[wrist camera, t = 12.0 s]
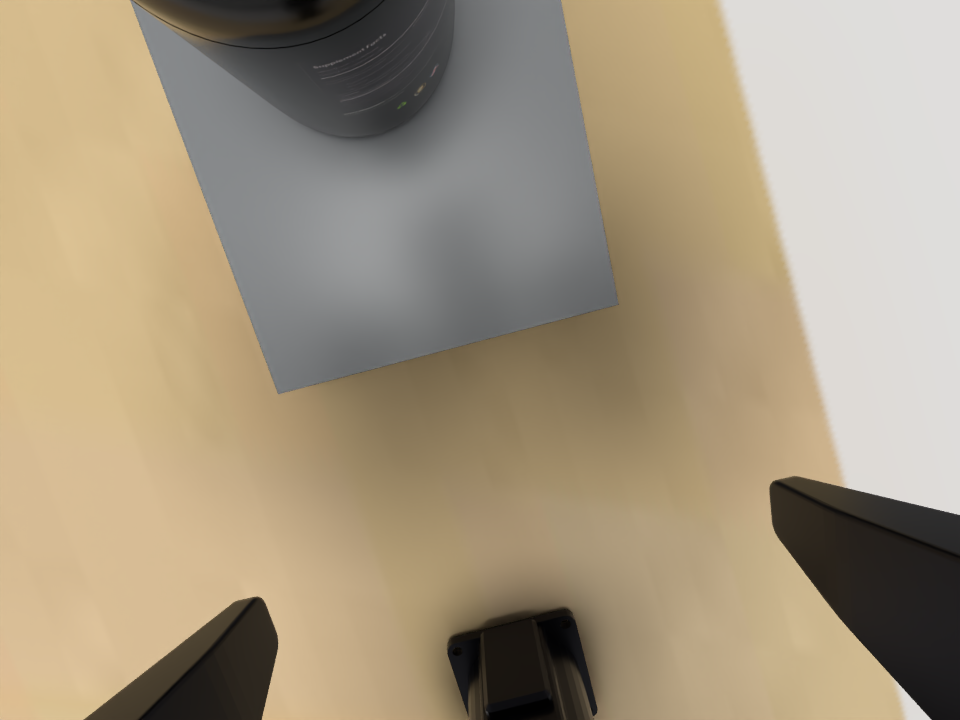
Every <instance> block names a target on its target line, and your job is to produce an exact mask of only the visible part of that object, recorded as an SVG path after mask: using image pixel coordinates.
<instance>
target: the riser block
mask: <svg viewBox="0 0 960 720" xmlns="http://www.w3.org/2000/svg"><path fill="white" fill-rule="evenodd" d="M130 1H131V3H132V6H133V9H134V11H135V14H136V17H137V19H138V22H139V25H140V27H141V30H142V33H143V35H144V38H145V41H146V43H147V46H148V49H149V51H150V54H151V57H152V59H153V62H154V65H155V67H156V70H157V73H158V75H159V78H160V81H161V83H162V86H163V89H164V91H165V94H166V97H167V99H168V102H169V105H170V107H171V110H172V113H173V115H174V118H175V121H176V123H177V126H178V128H179V131H180V134H181V136H182V139H183V142H184V144H185V147H186V150H187V152H188V155H189V158H190V160H191V163H192V166H193V168H194V171H195V174H196V176H197V179H198V182H199V184H200V187H201V190H202V192H203V195H204V198H205V200H206V203H207V206H208V208H209V211H210V214H211V216H212V219H213V222H214V224H215V227H216V230H217V232H218V235H219V238H220V240H221V243H222V246H223V248H224V251H225V254H226V256H227V259H228V261H229V264H230V267H231V269H232V272H233V275H234V277H235V280H236V283H237V285H238V288H239V291H240V293H241V296H242V299H243V301H244V304H245V307H246V309H247V312H248V315H249V317H250V320H251V323H252V325H253V328H254V331H255V333H256V336H257V339H258V341H259V344H260V347H261V349H262V352H263V355H264V357H265V360H266V363H267V365H268V368H269V371H270V373H271V376H272V379H273V381H274V384H275V387H276V389H277V392H278V394H281V393H285V392H288V391H292V390H296V389H300V388H304V387H307V386H311V385H315V384H319V383H323V382H326V381H330V380H334V379H338V378H342V377H345V376H349V375H353V374H357V373H361V372H364V371H368V370H372V369H376V368H380V367H383V366H387V365H391V364H395V363H399V362H402V361H406V360H410V359H414V358H418V357H421V356H425V355H429V354H433V353H437V352H440V351H444V350H448V349H452V348H456V347H459V346H463V345H467V344H471V343H475V342H478V341H482V340H486V339H490V338H494V337H497V336H501V335H505V334H509V333H513V332H516V331H520V330H524V329H528V328H532V327H535V326H539V325H543V324H547V323H551V322H554V321H558V320H562V319H566V318H570V317H573V316H577V315H581V314H585V313H589V312H592V311H596V310H600V309H604V308H608V307H611V306H615V305H619V304H618V299H617V294H616V288H615V283H614V278H613V273H612V267H611V262H610V257H609V251H608V246H607V241H606V236H605V230H604V225H603V220H602V215H601V209H600V204H599V199H598V194H597V188H596V183H595V178H594V173H593V167H592V162H591V157H590V151H589V146H588V141H587V136H586V130H585V125H584V120H583V115H582V109H581V104H580V99H579V94H578V88H577V83H576V78H575V72H574V67H573V62H572V57H571V51H570V46H569V41H568V36H567V30H566V25H565V20H564V15H563V9H562V4H561V0H455V21H454V36H453V42H452V48H451V52H450V56H449V60H448V63H447V66H446V69H445V72H444V74H443V76H442V78H441V81H440V83H439V84H438V86H437V88H436V90H435V91H434V93H433V94H432V95H431V97H430V98H429V100H428V101H427V102H426V103H425V104H424V105H423V107H422V108H421V109H420V110H419V111H417V112H416V113H415V114H414V115H413V116H412V117H410V118H409V119H408V120H406V121H405V122H403V123H402V124H400V125H398V126H396V127H394V128H392V129H390V130H388V131H385V132H382V133H379V134H375V135H371V136H365V137H340V136H333V135H329V134H325V133H322V132H318V131H315V130H313V129H311V128H309V127H306V126H304V125H302V124H300V123H298V122H297V121H295V120H293V119H291V118H290V117H289V116H287V115H286V114H284V113H283V112H281V111H280V110H278V109H277V108H275V107H274V106H272V105H271V104H270V103H268V102H267V101H266V100H264V99H263V98H262V97H260V96H259V95H258V94H256V93H255V92H254V91H252V90H251V89H250V88H248V87H247V86H246V85H244V84H243V83H242V82H240V81H239V80H238V79H236V78H235V77H233V76H232V75H231V74H229V73H228V72H227V71H225V70H224V69H223V68H221V67H220V66H219V65H217V64H216V63H215V62H213V61H212V60H211V59H209V58H208V57H207V56H205V55H204V54H203V53H201V52H200V51H199V50H197V49H196V48H195V47H193V46H192V45H191V44H189V43H188V42H187V41H185V40H184V39H183V38H181V37H180V36H179V35H177V34H176V33H174V32H173V31H172V30H170V29H169V28H168V27H166V26H165V25H164V24H162V23H161V22H160V21H158V20H157V19H156V18H154V17H153V16H152V15H150V14H149V13H148V12H146V11H145V10H144V9H142V8H141V7H140V6H138V5H137V4H136V3H135V2H133V1H132V0H130Z"/></svg>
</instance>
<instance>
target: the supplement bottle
mask: <svg viewBox="0 0 960 720" xmlns="http://www.w3.org/2000/svg"><path fill="white" fill-rule="evenodd" d="M132 1H133V2H135V3H136V4H137V5H138V6H140V7H141V8H142V9H144V10H145V11H146V12H148V13H149V14H150V15H152V16H153V17H154V18H156V19H157V20H158V21H160V22H161V23H162V24H164V25H165V26H166V27H168V28H169V29H170V30H172V31H173V32H174V33H176V34H177V35H179V36H180V37H181V38H183V39H184V40H185V41H187V42H188V43H189V44H191V45H192V46H193V47H195V48H196V49H197V50H199V51H200V52H201V53H203V54H204V55H205V56H207V57H208V58H209V59H211V60H212V61H213V62H215V63H216V64H217V65H219V66H220V67H221V68H223V69H224V70H225V71H227V72H228V73H229V74H231V75H232V76H233V77H235V78H236V79H238V80H239V81H240V82H242V83H243V84H244V85H246V86H247V87H248V88H250V89H251V90H252V91H254V92H255V93H256V94H258V95H259V96H260V97H262V98H263V99H264V100H266V101H267V102H268V103H270V104H271V105H272V106H274V107H275V108H277V109H278V110H280V111H281V112H283V113H284V114H286V115H287V116H289V117H290V118H291V119H293V120H295V121H297V122H298V123H300V124H302V125H304V126H306V127H309V128H311V129H313V130H315V131H318V132H322V133H325V134H329V135H333V136H340V137H365V136H371V135H375V134H379V133H382V132H385V131H388V130H390V129H392V128H394V127H396V126H398V125H400V124H402V123H403V122H405V121H406V120H408V119H409V118H410V117H412V116H413V115H414V114H415V113H416V112H417V111H419V110H420V109H421V108H422V107H423V105H424V104H425V103H426V102H427V101H428V100H429V98H430V97H431V95H432V94H433V93H434V91H435V90H436V88H437V86H438V84H439V83H440V81H441V78H442V76H443V74H444V72H445V69H446V66H447V63H448V60H449V56H450V52H451V48H452V42H453V36H454V21H455V0H132Z"/></svg>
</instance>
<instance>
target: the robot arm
mask: <svg viewBox="0 0 960 720" xmlns="http://www.w3.org/2000/svg"><path fill="white" fill-rule="evenodd" d="M770 503H771V515H772V524H773V528H774V531H775V533H776V535H777V537H778V538H779V540H780V541H781V542H782V543H783V545H784V546H785V547H786V549H787V550H788V551H789V553H790V554H791V555H792V557H793V558H794V559H795V561H796V562H797V563H798V565H799V566H800V567H801V569H802V570H803V571H804V573H805V574H806V575H807V577H808V578H809V579H810V580H811V582H812V583H813V584H814V586H815V587H816V588H817V590H818V591H819V592H820V594H821V595H822V596H823V598H824V599H825V600H826V602H827V603H828V604H829V606H830V607H831V608H832V609H833V611H834V612H835V613H836V614H837V615H838V617H839V618H840V619H841V620H842V621H843V623H844V624H845V625H846V626H847V627H848V628H849V629H850V631H851V632H852V633H853V634H854V635H855V636H856V637H857V638H858V639H859V641H860V642H861V643H862V644H863V645H864V646H865V647H866V648H867V649H868V650H869V652H870V653H871V654H872V655H873V656H874V657H875V658H876V659H877V660H878V661H879V663H880V664H881V665H882V666H883V667H884V668H885V669H886V670H887V671H888V672H889V674H890V675H891V676H892V677H893V678H894V679H895V680H896V681H897V682H898V683H899V685H900V686H901V687H902V688H903V689H904V690H905V691H906V692H907V693H908V694H909V695H910V697H911V698H912V699H913V700H914V701H915V702H916V703H917V704H918V705H919V706H920V708H921V709H922V710H923V711H924V712H925V713H926V714H927V715H928V716H929V717H930V719H932V720H960V515H957V514H953V513H948V512H944V511H940V510H936V509H932V508H927V507H923V506H919V505H915V504H911V503H907V502H902V501H898V500H894V499H890V498H886V497H881V496H877V495H873V494H869V493H865V492H860V491H856V490H852V489H848V488H844V487H840V486H836V485H831V484H827V483H823V482H819V481H815V480H811V479H806V478H802V477H797V476H792V477H788V478H784V479H779V480H775V481H773V482H772V483H771V484H770ZM563 620H568V621H567V622H562V621H563ZM456 647H459V648H460V649H454V648H456ZM277 650H278V636H277V632H276V630H275V627H274V625H273V622H272V619H271V617H270V614H269V612H268V609H267V606H266V604H265V602H264V600H263V599H262V598H260V597H252V598H247V599H243V600H238V601H236V602H234V603H232V604H231V605H230V606H229V607H227V608H226V609H225V610H224V611H222V612H221V613H220V614H218V615H217V616H216V617H215V618H213V619H212V620H211V621H209V622H208V623H207V624H206V625H204V626H203V627H202V628H200V629H199V630H198V631H197V632H195V633H194V634H193V635H192V636H190V637H189V638H188V639H186V640H185V641H184V642H183V643H181V644H180V645H179V646H177V647H176V648H175V649H174V650H172V651H171V652H170V653H168V654H167V655H166V656H165V657H163V658H162V659H161V660H160V661H158V662H157V663H156V664H154V665H153V666H152V667H151V668H149V669H148V670H147V671H145V672H144V673H143V674H142V675H140V676H139V677H138V678H136V679H135V680H134V681H133V682H131V683H130V684H129V685H128V686H126V687H125V688H124V689H122V690H121V691H120V692H119V693H117V694H116V695H115V696H113V697H112V698H111V699H110V700H108V701H107V702H106V703H104V704H103V705H102V706H101V707H99V708H98V709H97V710H96V711H94V712H93V713H92V714H90V715H89V716H88V717H87V718H85V719H84V720H262V716H263V711H264V707H265V703H266V698H267V694H268V690H269V685H270V681H271V677H272V672H273V668H274V664H275V659H276V655H277ZM447 652H448V657H449V660H450V663H451V666H452V669H453V672H454V675H455V678H456V681H457V684H458V687H459V690H460V693H461V696H462V699H463V702H464V705H465V708H466V711H467V714H468V717H469V720H594V718H593V716H594V715H596V713H597V705H596V701H595V697H594V693H593V689H592V685H591V681H590V677H589V673H588V669H587V665H586V661H585V657H584V653H583V650H582V646H581V642H580V638H579V634H578V630H577V626H576V622H575V618H574V615H573V613H572V612H571V611H569V610H559V611H555V612H551V613H547V614H543V615H540V616H536V617H532V618H528V619H524V620H520V621H516V622H512V623H508V624H504V625H500V626H496V627H492V628H488V629H484V630H481V631H477V632H473V633H469V634H465V635H461V636H457V637H454V638H452V639H450V640H449V642H448V647H447Z"/></svg>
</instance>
